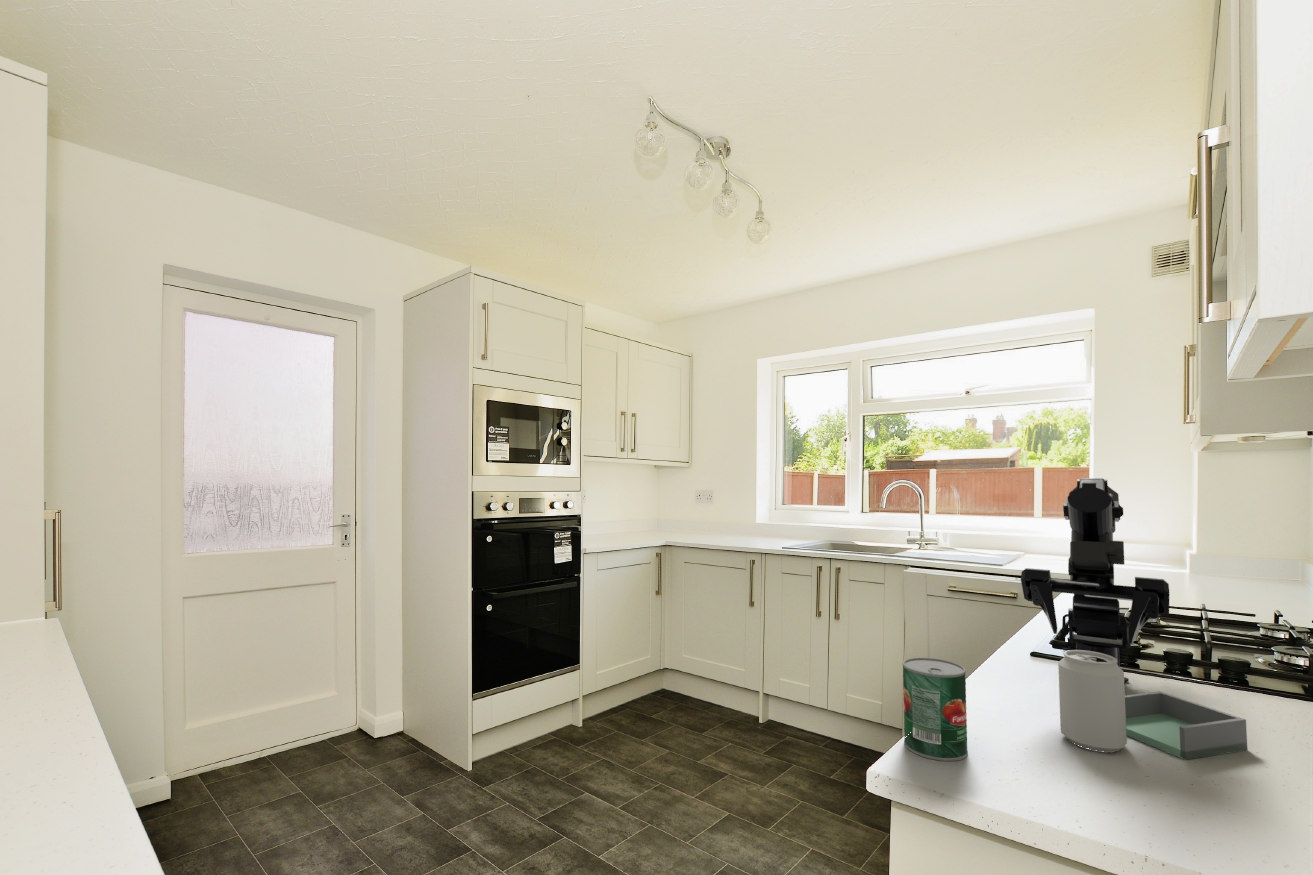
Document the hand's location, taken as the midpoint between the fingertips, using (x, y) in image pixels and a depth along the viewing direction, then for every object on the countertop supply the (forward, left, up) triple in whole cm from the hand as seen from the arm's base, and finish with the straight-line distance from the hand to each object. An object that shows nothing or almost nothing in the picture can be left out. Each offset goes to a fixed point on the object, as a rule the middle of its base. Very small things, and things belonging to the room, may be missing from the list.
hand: (1091, 636), depth 92 cm
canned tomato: (+28, 0, -13) cm, 31 cm away
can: (+6, +4, -13) cm, 15 cm away
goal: (-7, +6, -13) cm, 16 cm away
